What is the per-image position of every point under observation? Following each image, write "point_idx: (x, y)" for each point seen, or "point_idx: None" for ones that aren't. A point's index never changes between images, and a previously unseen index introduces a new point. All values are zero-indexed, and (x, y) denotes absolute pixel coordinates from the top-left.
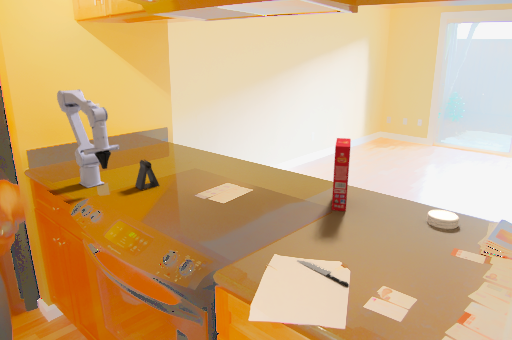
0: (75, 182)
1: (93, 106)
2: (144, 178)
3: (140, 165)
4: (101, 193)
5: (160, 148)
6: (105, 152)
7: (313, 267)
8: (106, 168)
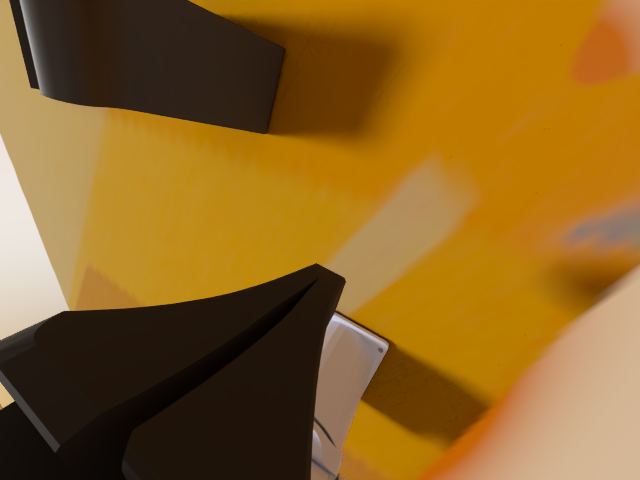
0: None
1: None
2: (204, 9)
3: (111, 96)
4: (429, 226)
5: None
6: (67, 466)
7: None
8: (321, 266)
